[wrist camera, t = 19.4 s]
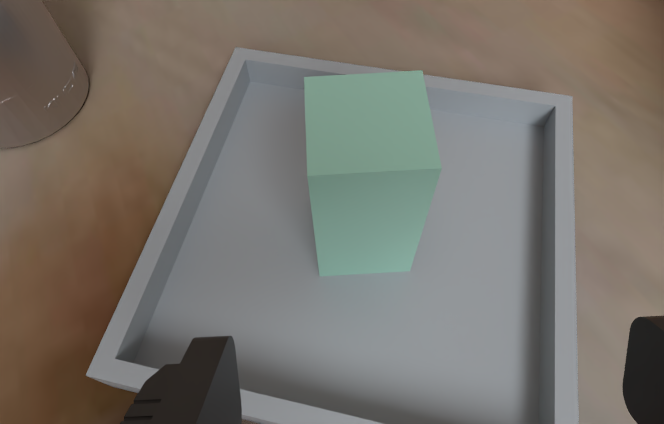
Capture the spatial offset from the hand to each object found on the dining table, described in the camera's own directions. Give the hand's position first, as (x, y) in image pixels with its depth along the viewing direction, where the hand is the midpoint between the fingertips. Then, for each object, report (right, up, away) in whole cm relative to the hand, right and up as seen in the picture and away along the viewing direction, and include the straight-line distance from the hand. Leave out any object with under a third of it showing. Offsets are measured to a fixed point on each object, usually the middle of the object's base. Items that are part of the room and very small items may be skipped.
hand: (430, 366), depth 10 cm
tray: (0, +1, +19) cm, 19 cm away
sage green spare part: (0, +2, +18) cm, 18 cm away
